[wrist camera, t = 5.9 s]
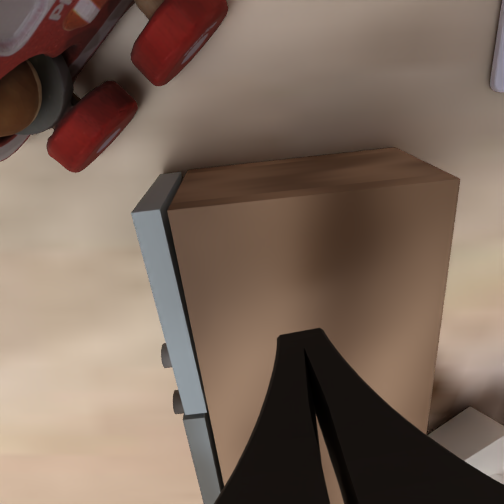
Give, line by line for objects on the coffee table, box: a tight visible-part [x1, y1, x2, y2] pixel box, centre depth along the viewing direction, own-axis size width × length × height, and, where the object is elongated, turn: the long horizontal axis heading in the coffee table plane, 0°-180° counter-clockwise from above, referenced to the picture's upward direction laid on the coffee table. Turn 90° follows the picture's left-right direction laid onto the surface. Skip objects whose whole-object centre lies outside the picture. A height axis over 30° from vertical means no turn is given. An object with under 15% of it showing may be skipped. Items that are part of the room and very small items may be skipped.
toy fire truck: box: [0, 0, 228, 173], centre depth 11 cm, size 7×12×10 cm, turn 133°
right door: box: [131, 172, 208, 415], centre depth 18 cm, size 2×10×6 cm, turn 7°
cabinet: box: [167, 147, 460, 504], centre depth 20 cm, size 12×20×6 cm, turn 6°
